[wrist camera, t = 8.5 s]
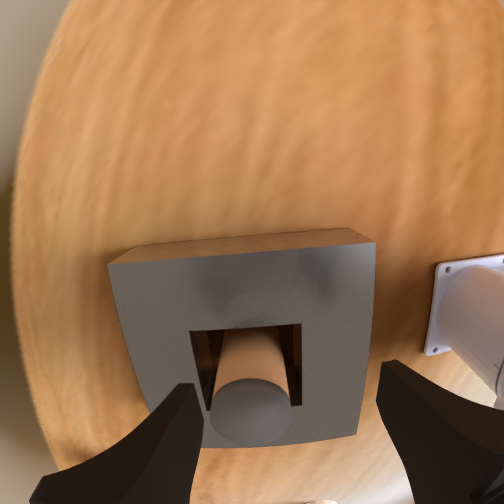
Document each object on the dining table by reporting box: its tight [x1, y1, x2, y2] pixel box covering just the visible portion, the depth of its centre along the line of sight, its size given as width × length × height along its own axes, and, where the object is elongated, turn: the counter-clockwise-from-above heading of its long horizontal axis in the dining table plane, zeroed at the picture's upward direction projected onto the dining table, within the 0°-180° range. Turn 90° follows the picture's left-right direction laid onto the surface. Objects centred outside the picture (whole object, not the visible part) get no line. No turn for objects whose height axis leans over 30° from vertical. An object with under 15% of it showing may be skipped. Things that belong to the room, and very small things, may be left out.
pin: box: [210, 326, 292, 445], centre depth 17 cm, size 4×4×8 cm
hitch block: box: [107, 228, 376, 448], centre depth 18 cm, size 14×14×4 cm
